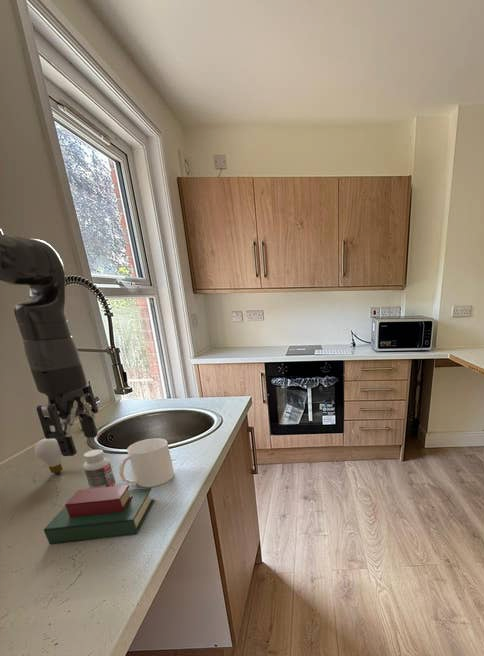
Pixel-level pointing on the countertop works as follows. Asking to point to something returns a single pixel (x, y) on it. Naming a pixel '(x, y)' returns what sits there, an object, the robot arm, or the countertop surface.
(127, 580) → the countertop surface
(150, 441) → the mug
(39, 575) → the countertop surface
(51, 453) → the light bulb
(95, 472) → the pill bottle
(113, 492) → the pocket book
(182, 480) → the countertop surface
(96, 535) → the hardback
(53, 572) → the countertop surface
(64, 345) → the robot arm
